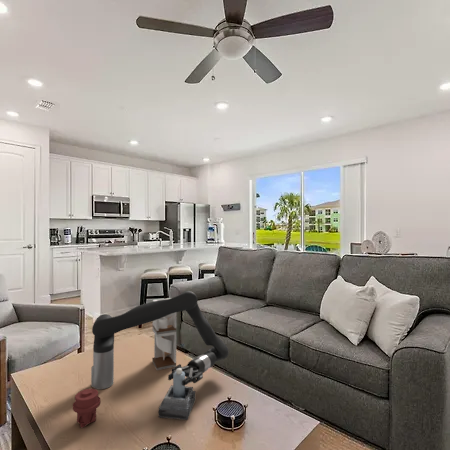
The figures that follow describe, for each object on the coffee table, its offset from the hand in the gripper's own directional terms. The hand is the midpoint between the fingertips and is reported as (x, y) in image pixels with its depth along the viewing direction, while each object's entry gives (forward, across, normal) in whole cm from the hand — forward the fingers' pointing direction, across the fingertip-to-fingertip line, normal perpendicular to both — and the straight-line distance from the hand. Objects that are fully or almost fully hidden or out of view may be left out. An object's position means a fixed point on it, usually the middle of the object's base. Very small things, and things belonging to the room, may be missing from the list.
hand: (175, 380), depth 130 cm
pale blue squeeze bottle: (-2, 0, +8) cm, 8 cm away
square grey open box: (-1, +1, +12) cm, 12 cm away
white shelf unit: (-27, -33, +12) cm, 44 cm away
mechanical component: (+26, -23, +12) cm, 37 cm away
